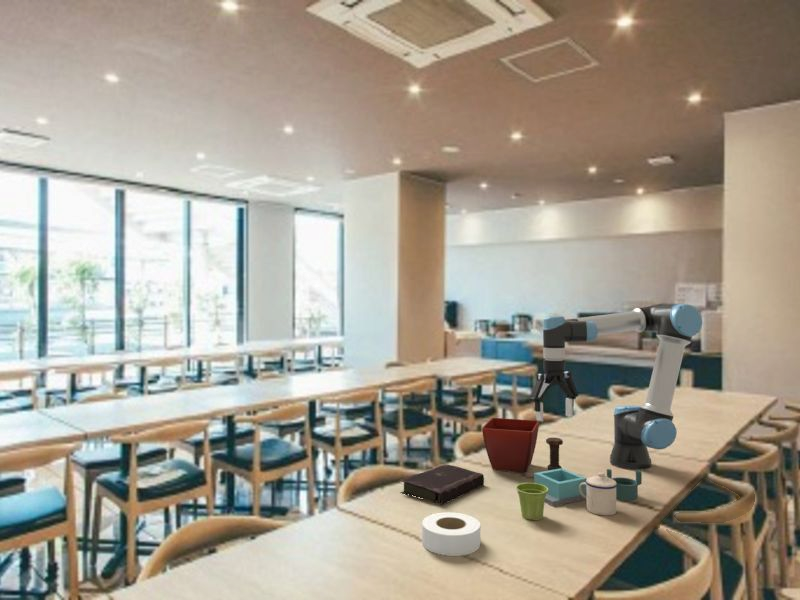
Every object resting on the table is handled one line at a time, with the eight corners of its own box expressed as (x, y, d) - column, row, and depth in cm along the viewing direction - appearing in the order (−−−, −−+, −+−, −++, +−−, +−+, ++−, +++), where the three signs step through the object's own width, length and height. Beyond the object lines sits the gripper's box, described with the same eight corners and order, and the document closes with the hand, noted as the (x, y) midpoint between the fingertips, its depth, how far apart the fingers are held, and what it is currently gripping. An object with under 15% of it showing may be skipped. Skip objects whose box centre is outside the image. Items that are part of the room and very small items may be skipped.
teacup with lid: (622, 511, 169) (622, 473, 169) (607, 518, 163) (607, 479, 163) (587, 500, 178) (587, 464, 178) (571, 507, 172) (571, 470, 172)
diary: (484, 487, 193) (484, 473, 193) (442, 508, 174) (442, 492, 174) (442, 475, 205) (442, 462, 205) (397, 493, 186) (398, 479, 186)
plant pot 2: (530, 525, 159) (530, 495, 159) (509, 514, 167) (509, 485, 167) (554, 519, 163) (554, 490, 163) (533, 508, 171) (533, 480, 171)
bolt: (544, 478, 200) (544, 437, 199) (558, 478, 200) (558, 436, 200) (550, 483, 194) (550, 441, 194) (564, 483, 194) (564, 441, 194)
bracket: (644, 498, 180) (643, 470, 180) (625, 503, 175) (625, 475, 175) (620, 490, 187) (620, 464, 187) (602, 495, 183) (602, 468, 183)
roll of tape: (443, 526, 159) (443, 507, 159) (491, 541, 149) (491, 520, 149) (409, 545, 147) (409, 524, 147) (459, 563, 137) (459, 540, 137)
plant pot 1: (481, 471, 208) (481, 427, 208) (492, 458, 226) (492, 417, 226) (532, 477, 201) (532, 431, 201) (539, 463, 218) (539, 420, 218)
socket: (567, 485, 192) (567, 466, 192) (595, 497, 181) (595, 477, 181) (526, 493, 185) (526, 474, 185) (552, 506, 173) (552, 485, 173)
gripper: (573, 356, 205) (573, 413, 205) (519, 360, 194) (520, 420, 194) (588, 358, 198) (588, 416, 199) (533, 362, 188) (534, 424, 188)
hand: (554, 418), depth 196 cm, fingers open, 13 cm apart
